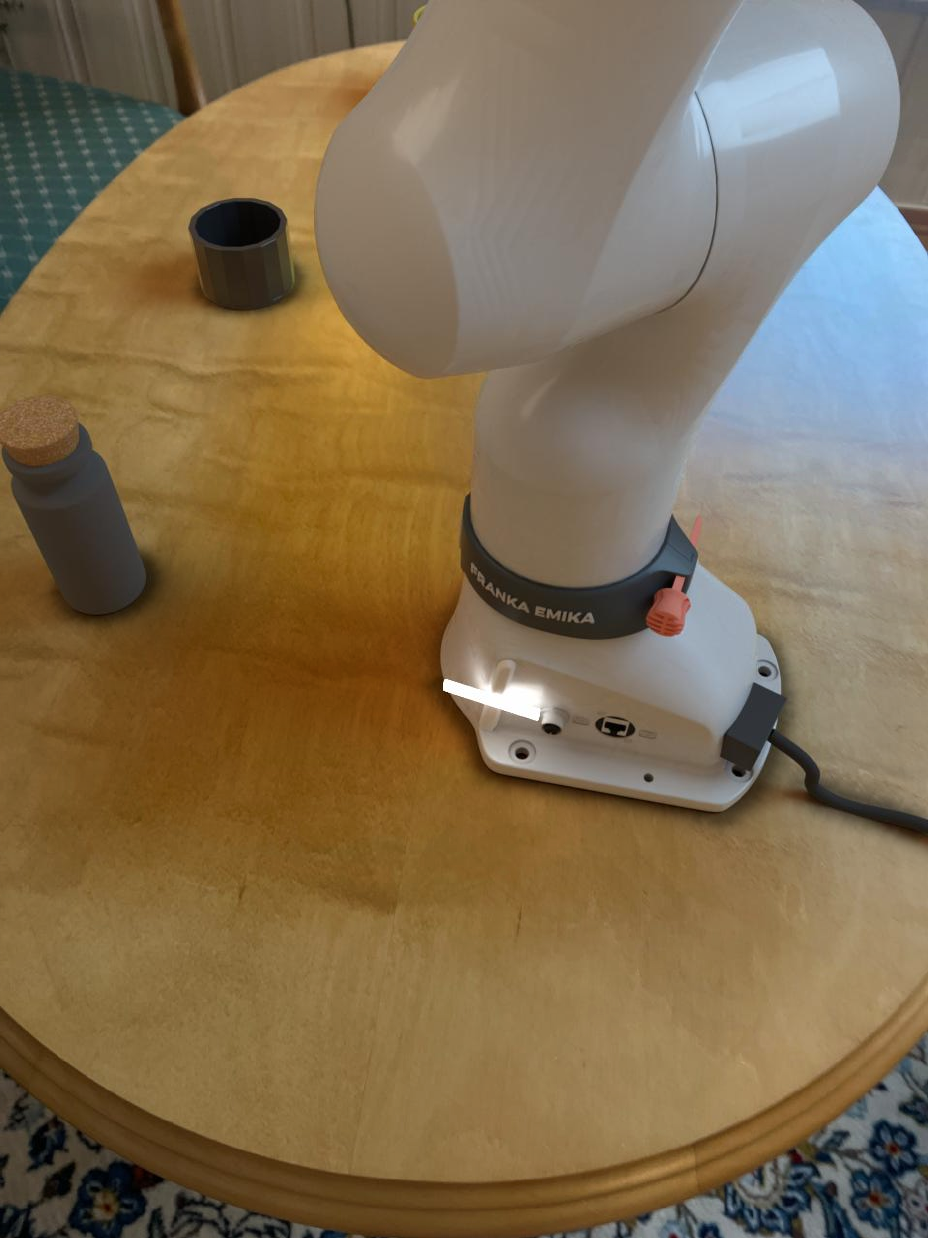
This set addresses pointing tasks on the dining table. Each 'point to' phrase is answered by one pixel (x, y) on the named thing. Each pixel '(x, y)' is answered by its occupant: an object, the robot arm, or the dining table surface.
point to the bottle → (70, 505)
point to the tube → (242, 253)
